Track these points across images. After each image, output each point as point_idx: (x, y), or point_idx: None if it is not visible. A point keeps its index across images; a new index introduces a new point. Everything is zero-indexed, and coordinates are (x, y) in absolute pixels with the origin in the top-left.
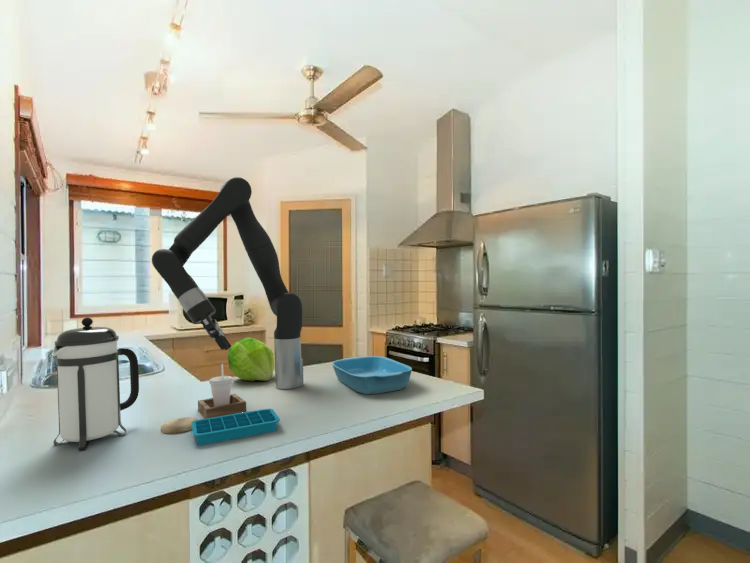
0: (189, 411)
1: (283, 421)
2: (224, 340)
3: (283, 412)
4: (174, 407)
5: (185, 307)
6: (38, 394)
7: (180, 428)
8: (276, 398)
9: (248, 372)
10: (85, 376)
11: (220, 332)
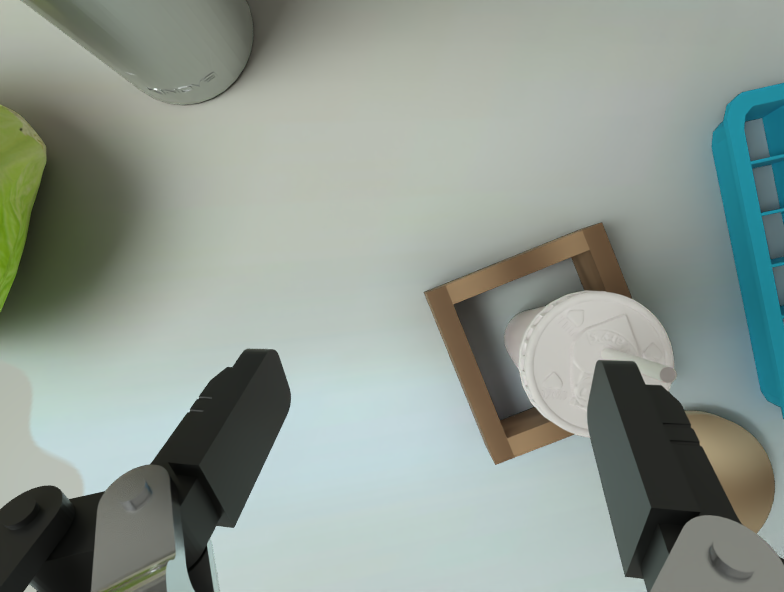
0: (480, 482)
1: (763, 65)
2: (661, 422)
3: (640, 65)
4: (392, 561)
5: None
6: None
7: (769, 472)
8: (404, 99)
9: (14, 247)
10: None
11: (185, 583)
